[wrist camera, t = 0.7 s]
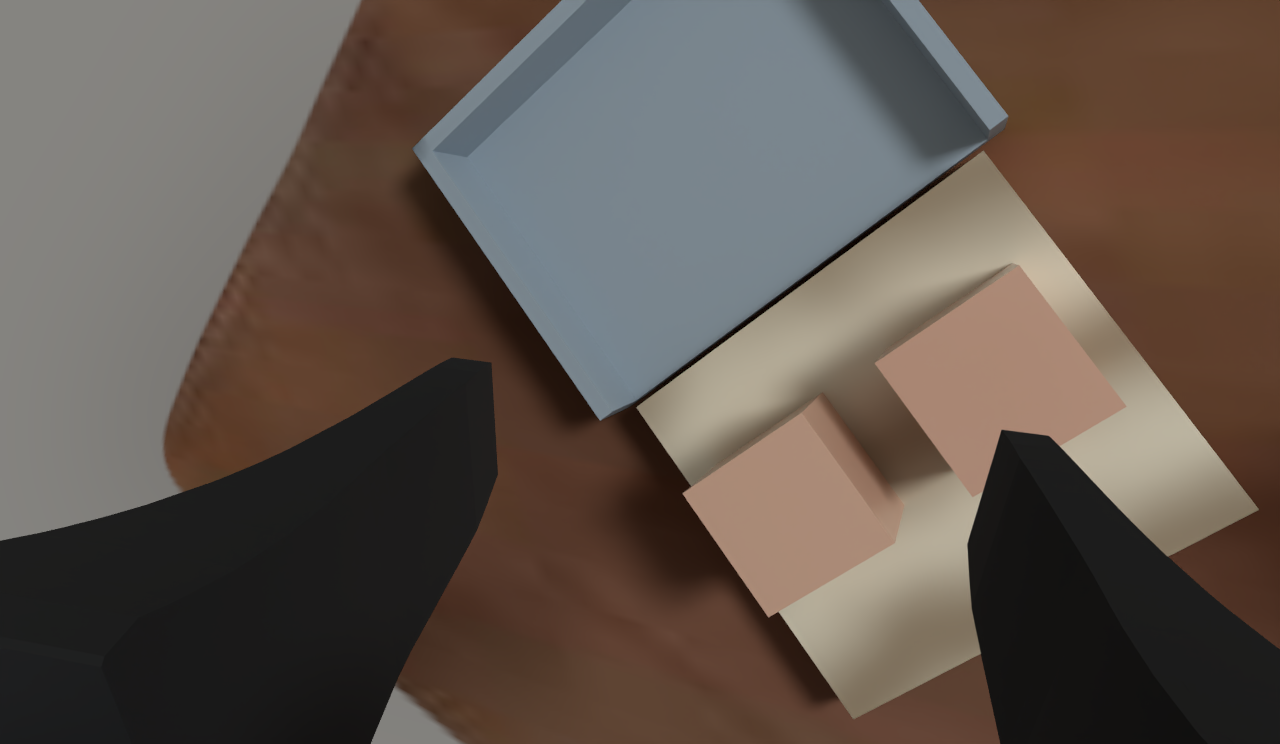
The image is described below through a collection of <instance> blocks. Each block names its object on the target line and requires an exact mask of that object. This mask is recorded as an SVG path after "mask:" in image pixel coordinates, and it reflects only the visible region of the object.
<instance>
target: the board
mask: <svg viewBox="0 0 1280 744" xmlns="http://www.w3.org/2000/svg"><path fill="white" fill-rule="evenodd" d="M1011 263H1014V264H1017V265H1020V267H1021V268H1022V269H1023V271H1024V272H1025V273H1026V275H1027V276H1028V277H1029V279H1030V280H1031V281H1032V283H1033V284H1034V285H1035V287H1036V288H1037V289H1038V290H1039V292H1040V293H1041V294H1042V296H1043V297H1044V298H1045V300H1046V301H1047V302H1048V304H1049V305H1050V306H1051V308H1052V309H1053V310H1054V312H1055V313H1056V314H1057V315H1058V317H1059V318H1060V319H1061V321H1062V322H1063V323H1064V325H1065V326H1066V327H1067V329H1068V330H1069V331H1070V333H1071V334H1072V335H1073V336H1074V338H1075V339H1076V340H1077V342H1078V343H1079V344H1080V346H1081V347H1082V348H1083V350H1084V351H1085V352H1086V354H1087V355H1088V356H1089V358H1090V359H1091V360H1092V361H1093V363H1094V364H1095V365H1096V367H1097V368H1098V369H1099V371H1100V372H1101V373H1102V375H1103V376H1104V377H1105V379H1106V380H1107V381H1108V382H1109V384H1110V385H1111V386H1112V388H1113V389H1114V390H1115V392H1116V393H1117V394H1118V396H1119V397H1120V398H1121V400H1122V401H1123V402H1124V404H1125V405H1126V406H1127V407H1125V408H1124V409H1122V410H1120V411H1119V412H1117V413H1115V414H1113V415H1112V416H1110V417H1108V418H1107V419H1105V420H1103V421H1102V422H1100V423H1098V424H1096V425H1095V426H1093V427H1091V428H1090V429H1088V430H1086V431H1085V432H1083V433H1081V434H1079V435H1078V436H1076V437H1074V438H1073V439H1071V440H1069V441H1068V442H1066V443H1064V444H1062V445H1061V446H1060V447H1061V448H1062V449H1063V450H1064V451H1065V452H1066V453H1067V454H1068V455H1069V456H1070V457H1071V459H1072V460H1073V461H1074V462H1075V463H1076V464H1077V465H1078V466H1079V467H1080V468H1081V469H1082V470H1083V471H1084V472H1085V473H1086V475H1087V476H1088V477H1089V478H1090V479H1091V480H1092V481H1093V482H1094V483H1095V484H1096V485H1097V486H1098V487H1099V488H1100V489H1101V490H1102V491H1103V493H1104V494H1105V495H1106V496H1107V497H1108V498H1109V499H1110V500H1111V501H1112V502H1113V503H1114V504H1115V505H1116V506H1117V507H1118V508H1119V509H1120V510H1121V511H1122V512H1123V513H1124V514H1125V515H1126V516H1127V517H1128V518H1129V519H1130V520H1131V521H1132V522H1133V523H1134V524H1135V525H1136V526H1137V527H1138V528H1139V529H1140V530H1141V531H1142V532H1143V533H1144V534H1145V535H1146V536H1147V537H1148V538H1149V539H1150V540H1151V541H1152V542H1153V543H1154V544H1155V545H1156V546H1157V547H1158V548H1159V549H1160V550H1161V551H1162V552H1163V553H1164V554H1165V555H1166V556H1170V555H1172V554H1174V553H1176V552H1178V551H1180V550H1182V549H1184V548H1186V547H1188V546H1190V545H1192V544H1193V543H1195V542H1197V541H1199V540H1201V539H1203V538H1205V537H1207V536H1209V535H1211V534H1213V533H1215V532H1217V531H1219V530H1221V529H1222V528H1224V527H1226V526H1228V525H1230V524H1232V523H1234V522H1236V521H1238V520H1240V519H1242V518H1244V517H1246V516H1248V515H1250V514H1251V513H1253V512H1255V511H1257V510H1259V509H1258V508H1257V507H1256V505H1255V504H1254V503H1253V501H1252V500H1251V499H1250V497H1249V496H1248V495H1247V494H1246V492H1245V491H1244V490H1243V488H1242V487H1241V486H1240V484H1239V483H1238V482H1237V480H1236V479H1235V478H1234V477H1233V475H1232V474H1231V473H1230V471H1229V470H1228V469H1227V467H1226V466H1225V465H1224V464H1223V462H1222V461H1221V460H1220V458H1219V457H1218V456H1217V454H1216V453H1215V452H1214V451H1213V449H1212V448H1211V447H1210V445H1209V444H1208V443H1207V441H1206V440H1205V439H1204V438H1203V436H1202V435H1201V434H1200V432H1199V431H1198V430H1197V428H1196V427H1195V426H1194V424H1193V423H1192V422H1191V421H1190V419H1189V418H1188V417H1187V415H1186V414H1185V413H1184V411H1183V410H1182V409H1181V408H1180V406H1179V405H1178V404H1177V402H1176V401H1175V400H1174V398H1173V397H1172V396H1171V395H1170V393H1169V392H1168V391H1167V389H1166V388H1165V387H1164V385H1163V384H1162V383H1161V381H1160V380H1159V379H1158V378H1157V376H1156V375H1155V374H1154V372H1153V371H1152V370H1151V368H1150V367H1149V366H1148V365H1147V363H1146V362H1145V361H1144V359H1143V358H1142V357H1141V355H1140V354H1139V353H1138V352H1137V350H1136V349H1135V348H1134V346H1133V345H1132V344H1131V342H1130V341H1129V340H1128V339H1127V337H1126V336H1125V335H1124V333H1123V332H1122V331H1121V329H1120V328H1119V327H1118V325H1117V324H1116V323H1115V322H1114V320H1113V319H1112V318H1111V316H1110V315H1109V314H1108V312H1107V311H1106V310H1105V309H1104V307H1103V306H1102V305H1101V303H1100V302H1099V301H1098V299H1097V298H1096V297H1095V296H1094V294H1093V293H1092V292H1091V290H1090V289H1089V288H1088V286H1087V285H1086V284H1085V282H1084V281H1083V280H1082V279H1081V277H1080V276H1079V275H1078V273H1077V272H1076V271H1075V269H1074V268H1073V267H1072V266H1071V264H1070V263H1069V262H1068V260H1067V259H1066V258H1065V256H1064V255H1063V254H1062V253H1061V251H1060V250H1059V249H1058V247H1057V246H1056V245H1055V243H1054V242H1053V241H1052V240H1051V238H1050V237H1049V236H1048V234H1047V233H1046V232H1045V230H1044V229H1043V228H1042V226H1041V225H1040V224H1039V223H1038V221H1037V220H1036V219H1035V217H1034V216H1033V215H1032V213H1031V212H1030V211H1029V210H1028V208H1027V207H1026V206H1025V204H1024V203H1023V202H1022V200H1021V199H1020V198H1019V197H1018V195H1017V194H1016V193H1015V191H1014V190H1013V189H1012V187H1011V186H1010V185H1009V183H1008V182H1007V181H1006V180H1005V178H1004V177H1003V176H1002V174H1001V173H1000V172H999V170H998V169H997V168H996V167H995V165H994V164H993V163H992V161H991V160H990V159H989V157H988V156H987V155H986V154H985V152H984V151H982V152H981V153H980V154H978V155H977V156H976V157H974V158H973V159H972V160H970V161H969V162H968V163H966V164H965V165H963V166H962V167H961V168H959V169H958V170H957V171H955V172H954V173H953V174H951V175H950V176H949V177H947V178H946V179H945V180H943V181H942V182H940V183H939V184H938V185H936V186H935V187H934V188H932V189H931V190H930V191H928V192H927V193H926V194H924V195H923V196H922V197H920V198H919V199H917V200H916V201H915V202H913V203H912V204H911V205H909V206H908V207H907V208H905V209H904V210H903V211H901V212H900V213H898V214H897V215H896V216H894V217H893V218H892V219H890V220H889V221H888V222H886V223H885V224H884V225H882V226H881V227H880V228H878V229H877V230H875V231H874V232H873V233H871V234H870V235H869V236H867V237H866V238H865V239H863V240H862V241H861V242H859V243H858V244H857V245H855V246H854V247H852V248H851V249H850V250H848V251H847V252H846V253H844V254H843V255H842V256H840V257H839V258H838V259H836V260H835V261H834V262H832V263H831V264H829V265H828V266H827V267H825V268H824V269H823V270H821V271H820V272H819V273H817V274H816V275H815V276H813V277H812V278H811V279H809V280H808V281H806V282H805V283H804V284H802V285H801V286H800V287H798V288H797V289H796V290H794V291H793V292H792V293H790V294H789V295H787V296H786V297H785V298H783V299H782V300H781V301H779V302H778V303H777V304H775V305H774V306H773V307H771V308H770V309H769V310H767V311H766V312H764V313H763V314H762V315H760V316H759V317H758V318H756V319H755V320H754V321H752V322H751V323H750V324H748V325H747V326H746V327H744V328H743V329H741V330H740V331H739V332H737V333H736V334H735V335H733V336H732V337H731V338H729V339H728V340H727V341H725V342H724V343H723V344H721V345H720V346H718V347H717V348H716V349H714V350H713V351H712V352H710V353H709V354H708V355H706V356H705V357H704V358H702V359H701V360H700V361H698V362H697V363H695V364H694V365H693V366H691V367H690V368H689V369H687V370H686V371H685V372H683V373H682V374H681V375H679V376H678V377H677V378H675V379H674V380H672V381H671V382H670V383H668V384H667V385H666V386H664V387H663V388H662V389H660V390H659V391H658V392H656V393H655V394H653V395H652V396H651V397H649V398H648V399H647V400H645V401H644V402H643V403H641V404H640V405H639V406H637V407H636V408H637V409H638V411H639V412H640V414H641V415H642V416H643V418H644V419H645V421H646V422H647V424H648V425H649V426H650V428H651V429H652V431H653V432H654V434H655V435H656V437H657V438H658V439H659V441H660V442H661V444H662V445H663V447H664V448H665V449H666V451H667V452H668V454H669V455H670V457H671V458H672V459H673V461H674V462H675V464H676V465H677V467H678V468H679V470H680V471H681V472H682V474H683V475H684V477H685V478H686V480H687V481H688V482H689V484H690V485H691V486H692V485H693V484H694V483H695V482H696V481H697V480H699V479H700V478H701V477H702V476H703V475H704V474H706V473H707V472H708V471H709V470H710V469H711V468H713V467H714V466H715V465H716V464H718V463H719V462H720V461H722V460H723V459H725V458H726V457H728V456H729V455H731V454H732V453H734V452H735V451H737V450H738V449H740V448H741V447H743V446H744V445H745V444H747V443H748V442H750V441H751V440H753V439H754V438H756V437H757V436H759V435H760V434H762V433H763V432H765V431H766V430H767V429H769V428H770V427H772V426H773V425H775V424H776V423H778V422H779V421H781V420H782V419H784V418H785V417H787V416H788V415H790V414H791V413H792V412H794V411H795V410H797V409H798V408H800V407H801V406H803V405H804V404H806V403H807V402H809V401H810V400H812V399H813V398H815V397H816V396H817V395H819V394H820V393H822V392H823V393H824V394H825V396H826V397H827V399H828V400H829V401H830V403H831V404H832V406H833V407H834V408H835V410H836V411H837V412H838V414H839V415H840V417H841V418H842V419H843V421H844V422H845V424H846V425H847V426H848V428H849V429H850V430H851V432H852V433H853V435H854V436H855V437H856V439H857V440H858V442H859V443H860V444H861V446H862V447H863V448H864V450H865V451H866V453H867V454H868V455H869V457H870V458H871V460H872V461H873V462H874V464H875V465H876V466H877V468H878V469H879V471H880V472H881V473H882V475H883V476H884V478H885V479H886V480H887V482H888V483H889V484H890V486H891V487H892V489H893V490H894V491H895V493H896V494H897V496H898V497H899V498H900V500H901V501H902V502H903V504H904V505H905V506H904V510H903V514H902V518H901V522H900V526H899V530H898V534H897V538H896V542H895V543H894V544H893V545H891V546H889V547H887V548H886V549H884V550H882V551H881V552H879V553H877V554H876V555H874V556H872V557H870V558H869V559H867V560H865V561H864V562H862V563H860V564H859V565H857V566H855V567H853V568H852V569H850V570H848V571H847V572H845V573H843V574H842V575H840V576H838V577H836V578H835V579H833V580H831V581H830V582H828V583H826V584H825V585H823V586H821V587H819V588H818V589H816V590H814V591H813V592H811V593H809V594H808V595H806V596H804V597H802V598H801V599H799V600H797V601H796V602H794V603H792V604H791V605H789V606H787V607H785V608H784V609H782V610H780V611H779V613H780V615H781V616H782V617H783V619H784V620H785V622H786V623H787V625H788V626H789V627H790V629H791V630H792V632H793V633H794V635H795V636H796V637H797V639H798V640H799V642H800V643H801V645H802V646H803V648H804V649H805V650H806V652H807V653H808V655H809V656H810V658H811V659H812V660H813V662H814V663H815V665H816V666H817V668H818V669H819V671H820V672H821V673H822V675H823V676H824V678H825V679H826V681H827V682H828V683H829V685H830V686H831V688H832V689H833V691H834V692H835V693H836V695H837V696H838V698H839V699H840V701H841V702H842V704H843V705H844V706H845V708H846V709H847V711H848V712H849V714H850V715H851V716H852V718H853V719H855V718H857V717H859V716H861V715H863V714H865V713H867V712H869V711H871V710H872V709H874V708H876V707H878V706H880V705H882V704H884V703H886V702H888V701H890V700H892V699H894V698H896V697H898V696H900V695H901V694H903V693H905V692H907V691H909V690H911V689H913V688H915V687H917V686H919V685H921V684H923V683H925V682H927V681H929V680H930V679H932V678H934V677H936V676H938V675H940V674H942V673H944V672H946V671H948V670H950V669H952V668H954V667H956V666H958V665H959V664H961V663H963V662H965V661H967V660H969V659H971V658H973V657H975V656H977V655H979V654H981V652H980V647H979V642H978V637H977V633H976V628H975V623H974V618H973V613H972V607H971V595H970V582H969V566H968V549H967V543H968V540H969V536H970V533H971V530H972V526H973V523H974V520H975V516H976V513H977V510H978V506H979V503H980V500H981V496H982V493H983V492H981V493H979V494H978V495H976V496H974V497H972V496H971V494H970V493H969V492H968V490H967V489H966V488H965V486H964V485H963V484H962V482H961V481H960V479H959V478H958V477H957V475H956V474H955V473H954V471H953V470H952V468H951V467H950V466H949V464H948V463H947V462H946V460H945V459H944V458H943V456H942V455H941V453H940V452H939V451H938V449H937V448H936V447H935V445H934V444H933V443H932V441H931V440H930V438H929V437H928V436H927V434H926V433H925V432H924V430H923V429H922V427H921V426H920V425H919V423H918V422H917V421H916V419H915V418H914V417H913V415H912V414H911V412H910V411H909V410H908V408H907V407H906V406H905V404H904V403H903V402H902V400H901V399H900V397H899V396H898V395H897V393H896V392H895V391H894V389H893V388H892V386H891V385H890V384H889V382H888V381H887V380H886V378H885V377H884V376H883V374H882V373H881V371H880V370H879V369H878V367H877V366H876V365H875V362H876V361H877V360H878V358H879V357H880V356H881V355H882V354H883V352H884V351H885V350H886V349H887V348H888V347H889V346H891V345H892V344H894V343H895V342H897V341H898V340H900V339H901V338H903V337H904V336H906V335H907V334H909V333H910V332H911V331H913V330H914V329H916V328H917V327H919V326H920V325H922V324H923V323H925V322H926V321H928V320H929V319H931V318H932V317H934V316H935V315H936V314H938V313H939V312H941V311H942V310H944V309H945V308H947V307H948V306H950V305H951V304H953V303H954V302H956V301H957V300H959V299H960V298H961V297H963V296H964V295H966V294H967V293H969V292H970V291H972V290H973V289H975V288H976V287H978V286H979V285H981V284H982V283H984V282H985V281H986V280H988V279H989V278H991V277H992V276H994V275H995V274H997V273H998V272H1000V271H1001V270H1003V269H1004V268H1006V267H1007V266H1008V265H1010V264H1011Z"/></svg>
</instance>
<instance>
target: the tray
mask: <svg viewBox="0 0 1280 744" xmlns="http://www.w3.org/2000/svg"><path fill="white" fill-rule="evenodd" d="M1007 119H1008V115H1007V114H1006V113H1005V111H1004V110H1003V109H1002V108H1001V106H1000V105H999V104H998V102H997V101H996V100H995V98H994V97H993V96H992V95H991V93H990V92H989V91H988V89H987V88H986V87H985V86H984V84H983V83H982V82H981V80H980V79H979V78H978V77H977V75H976V74H975V73H974V71H973V70H972V69H971V67H970V66H969V65H968V64H967V62H966V61H965V60H964V58H963V57H962V56H961V55H960V53H959V52H958V51H957V49H956V48H955V47H954V46H953V44H952V43H951V42H950V40H949V39H948V38H947V37H946V35H945V34H944V33H943V31H942V30H941V29H940V27H939V26H938V25H937V24H936V22H935V21H934V20H933V18H932V17H931V16H930V15H929V13H928V12H927V11H926V9H925V8H924V7H923V6H922V4H921V3H920V2H919V0H562V1H561V2H560V3H559V4H558V5H557V6H556V7H555V8H554V9H553V10H552V11H551V12H550V13H549V14H548V15H547V16H546V17H545V18H544V19H543V20H542V21H541V22H540V23H539V24H538V25H537V26H536V27H535V28H534V29H533V30H532V31H531V32H530V33H528V34H527V35H526V36H525V37H524V38H523V39H522V40H521V41H520V42H519V43H518V44H517V45H516V46H515V47H514V48H513V49H512V50H511V51H510V52H509V53H508V54H507V55H506V56H505V57H504V58H503V59H502V60H501V61H500V62H499V63H498V64H497V65H496V66H495V67H494V68H493V69H492V70H491V71H490V72H489V73H488V74H487V75H486V76H485V77H484V78H483V79H482V80H481V81H480V82H479V83H478V84H477V85H476V86H475V87H474V88H473V89H472V90H471V91H470V92H469V93H468V94H467V95H466V96H465V97H464V98H463V99H462V100H461V101H460V102H459V103H458V104H457V105H456V106H455V107H454V108H453V109H452V110H451V111H450V112H449V113H448V114H447V115H446V116H445V117H444V118H443V119H442V120H441V121H440V122H439V123H438V124H437V125H436V126H435V127H434V128H432V129H431V130H430V131H429V132H428V133H427V134H426V135H425V136H424V137H423V138H422V139H421V140H420V141H419V142H418V143H417V144H416V145H415V146H414V147H413V148H412V149H413V151H414V152H415V154H416V155H417V157H418V158H419V159H420V161H421V162H422V164H423V165H424V167H425V168H426V170H427V171H428V172H429V174H430V175H431V177H432V178H433V180H434V181H435V183H436V184H437V185H438V187H439V188H440V190H441V191H442V193H443V194H444V196H445V197H446V199H447V200H448V201H449V203H450V204H451V206H452V207H453V209H454V210H455V212H456V213H457V214H458V216H459V217H460V219H461V220H462V222H463V223H464V225H465V226H466V227H467V229H468V230H469V232H470V233H471V235H472V236H473V238H474V239H475V240H476V242H477V243H478V245H479V246H480V248H481V249H482V251H483V252H484V254H485V255H486V256H487V258H488V259H489V261H490V262H491V264H492V265H493V267H494V268H495V269H496V271H497V272H498V274H499V275H500V277H501V278H502V280H503V281H504V282H505V284H506V285H507V287H508V288H509V290H510V291H511V293H512V294H513V296H514V297H515V298H516V300H517V301H518V303H519V304H520V306H521V307H522V309H523V310H524V311H525V313H526V314H527V316H528V317H529V319H530V320H531V322H532V323H533V324H534V326H535V327H536V329H537V330H538V332H539V333H540V335H541V336H542V337H543V339H544V340H545V342H546V343H547V345H548V346H549V348H550V349H551V351H552V352H553V353H554V355H555V356H556V358H557V359H558V361H559V362H560V364H561V365H562V366H563V368H564V369H565V371H566V372H567V374H568V375H569V377H570V378H571V379H572V381H573V382H574V384H575V385H576V387H577V388H578V390H579V391H580V393H581V394H582V395H583V397H584V398H585V400H586V401H587V403H588V404H589V406H590V407H591V408H592V410H593V411H594V413H595V414H596V416H597V417H598V419H599V420H600V421H601V420H603V419H605V418H607V417H609V416H611V415H613V414H616V413H618V412H620V411H622V410H624V409H626V408H628V407H630V406H632V405H633V404H634V403H636V402H637V401H638V400H640V399H641V398H643V397H644V396H645V395H647V394H648V393H649V392H651V391H652V390H653V389H655V388H656V387H657V386H659V385H660V384H661V383H663V382H664V381H665V380H667V379H668V378H669V377H671V376H672V375H674V374H675V373H676V372H678V371H679V370H680V369H682V368H683V367H684V366H686V365H687V364H688V363H690V362H691V361H692V360H694V359H695V358H696V357H698V356H699V355H700V354H702V353H703V352H705V351H706V350H707V349H709V348H710V347H711V346H713V345H714V344H715V343H717V342H718V341H719V340H721V339H722V338H723V337H725V336H726V335H727V334H729V333H730V332H732V331H733V330H734V329H736V328H737V327H738V326H740V325H741V324H742V323H744V322H745V321H746V320H748V319H749V318H750V317H752V316H753V315H754V314H756V313H757V312H758V311H760V310H761V309H763V308H764V307H765V306H767V305H768V304H769V303H771V302H772V301H773V300H775V299H776V298H777V297H779V296H780V295H781V294H783V293H784V292H785V291H787V290H788V289H790V288H791V287H792V286H794V285H795V284H796V283H798V282H799V281H800V280H802V279H803V278H804V277H806V276H807V275H808V274H810V273H811V272H812V271H814V270H815V269H816V268H818V267H819V266H821V265H822V264H823V263H825V262H826V261H827V260H829V259H830V258H831V257H833V256H834V255H835V254H837V253H838V252H839V251H841V250H842V249H843V248H845V247H846V246H848V245H849V244H850V243H852V242H853V241H854V240H856V239H857V238H858V237H860V236H861V235H862V234H864V233H865V232H866V231H868V230H869V229H870V228H872V227H873V226H874V225H876V224H877V223H879V222H880V221H881V220H883V219H884V218H885V217H887V216H888V215H889V214H891V213H892V212H893V211H895V210H896V209H897V208H899V207H900V206H901V205H903V204H904V203H905V202H907V201H908V200H910V199H911V198H912V197H914V196H915V195H916V194H918V193H919V192H920V191H922V190H923V189H924V188H926V187H927V186H928V185H930V184H931V183H932V182H934V181H935V180H937V179H938V178H939V177H941V176H942V175H943V174H945V173H946V172H947V171H949V170H950V169H951V168H953V167H954V166H955V165H957V164H958V163H959V162H961V161H962V160H963V159H965V158H966V157H968V156H969V155H970V154H972V153H973V152H974V151H976V150H977V149H978V148H980V147H981V146H982V145H984V144H985V143H986V142H988V141H989V140H990V139H992V138H993V137H995V136H996V135H997V134H999V133H1000V132H1001V131H1003V130H1004V129H1005V126H1006V122H1007Z"/></svg>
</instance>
